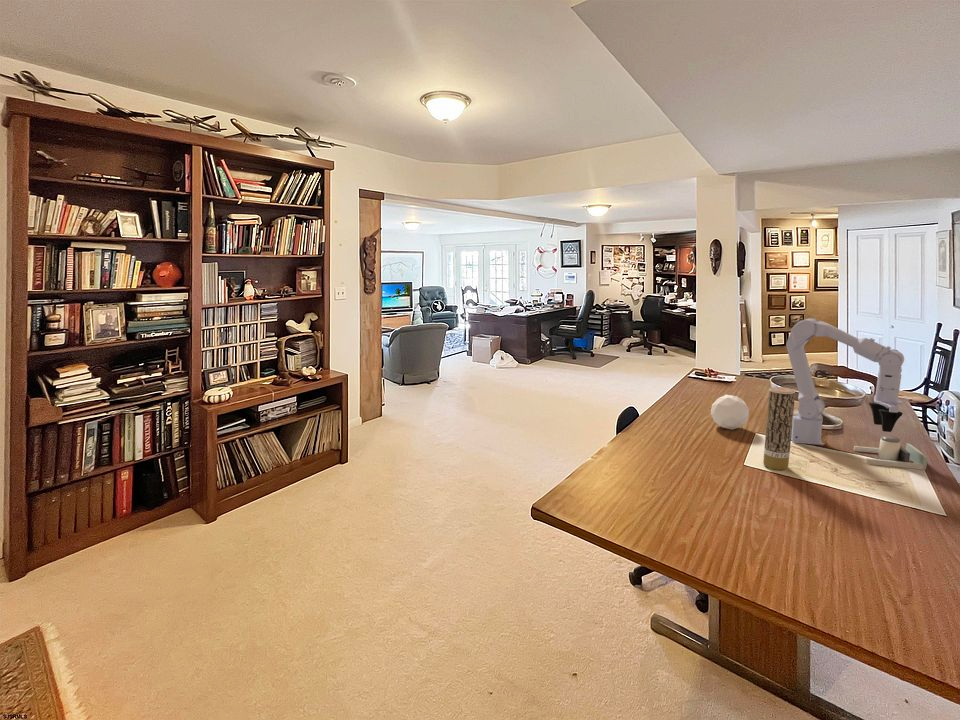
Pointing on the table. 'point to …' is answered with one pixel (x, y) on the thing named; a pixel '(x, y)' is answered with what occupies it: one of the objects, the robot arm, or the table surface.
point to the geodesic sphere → (729, 412)
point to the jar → (889, 448)
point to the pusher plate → (903, 455)
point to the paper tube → (779, 427)
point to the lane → (915, 456)
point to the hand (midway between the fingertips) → (882, 427)
